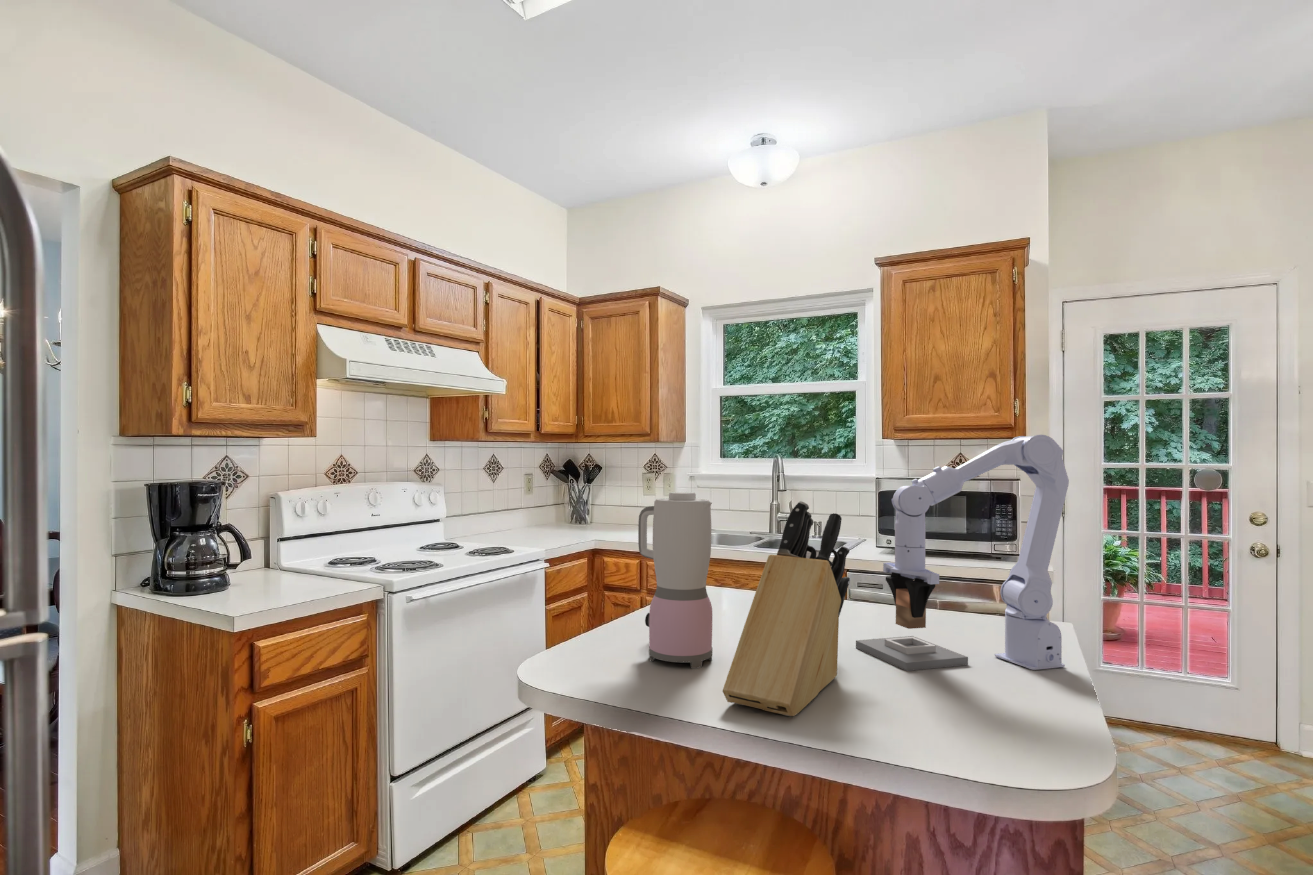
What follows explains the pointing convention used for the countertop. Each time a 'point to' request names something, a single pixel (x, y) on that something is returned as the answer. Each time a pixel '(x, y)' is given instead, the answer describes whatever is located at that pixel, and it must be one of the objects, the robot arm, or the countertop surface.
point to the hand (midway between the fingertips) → (909, 614)
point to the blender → (679, 578)
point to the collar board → (911, 653)
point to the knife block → (792, 622)
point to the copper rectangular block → (907, 611)
